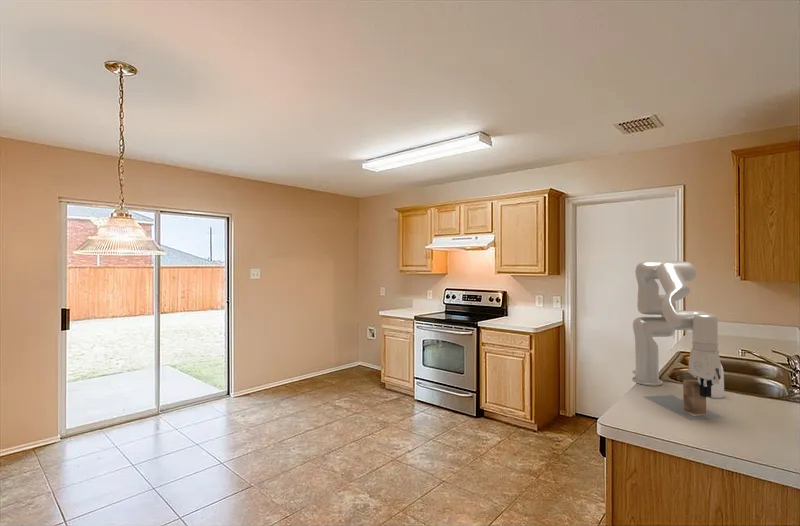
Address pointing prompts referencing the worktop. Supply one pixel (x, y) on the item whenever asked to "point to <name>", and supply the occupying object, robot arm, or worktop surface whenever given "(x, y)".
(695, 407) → the walnut block
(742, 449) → the worktop surface
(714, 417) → the mat
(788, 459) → the worktop surface
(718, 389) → the milk bottle
